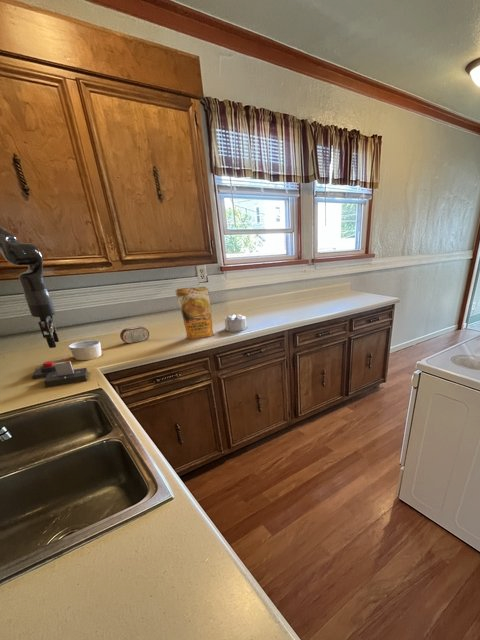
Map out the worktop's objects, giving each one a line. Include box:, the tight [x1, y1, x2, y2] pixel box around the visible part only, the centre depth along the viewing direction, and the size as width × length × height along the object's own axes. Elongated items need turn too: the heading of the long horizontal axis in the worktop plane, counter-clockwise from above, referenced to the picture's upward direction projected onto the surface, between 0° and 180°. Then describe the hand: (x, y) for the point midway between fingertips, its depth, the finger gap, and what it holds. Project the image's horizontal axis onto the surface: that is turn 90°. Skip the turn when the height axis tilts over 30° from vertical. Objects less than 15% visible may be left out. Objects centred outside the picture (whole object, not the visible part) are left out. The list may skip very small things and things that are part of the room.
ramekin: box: [68, 339, 102, 361], centre depth 160 cm, size 13×13×7 cm
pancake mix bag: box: [175, 286, 215, 340], centre depth 188 cm, size 7×19×28 cm, turn 122°
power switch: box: [31, 364, 56, 380], centre depth 141 cm, size 12×9×4 cm
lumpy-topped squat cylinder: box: [224, 313, 247, 333], centre depth 208 cm, size 10×13×9 cm
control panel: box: [43, 367, 89, 389], centre depth 135 cm, size 14×10×3 cm
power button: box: [42, 360, 55, 368], centre depth 140 cm, size 4×4×2 cm
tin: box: [119, 325, 150, 344], centre depth 183 cm, size 15×3×8 cm, turn 134°
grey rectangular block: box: [53, 360, 74, 376], centre depth 133 cm, size 6×2×5 cm, turn 118°
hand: (54, 344), depth 128 cm, fingers open, 8 cm apart
